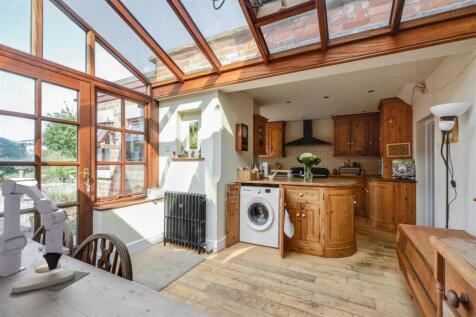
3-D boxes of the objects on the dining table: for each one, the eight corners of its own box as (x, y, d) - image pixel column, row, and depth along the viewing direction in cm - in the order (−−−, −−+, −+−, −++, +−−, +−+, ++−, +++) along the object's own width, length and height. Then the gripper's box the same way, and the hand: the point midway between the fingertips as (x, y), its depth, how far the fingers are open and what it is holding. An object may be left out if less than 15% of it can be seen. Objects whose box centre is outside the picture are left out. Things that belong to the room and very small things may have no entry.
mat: (33, 287, 83) (33, 287, 83) (68, 270, 97) (68, 269, 97) (57, 291, 81) (57, 290, 81) (89, 273, 95) (89, 272, 95)
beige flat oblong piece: (15, 285, 84) (8, 296, 77) (16, 279, 84) (8, 290, 77) (75, 272, 95) (73, 280, 88) (76, 267, 95) (73, 275, 88)
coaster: (30, 271, 96) (30, 270, 96) (51, 262, 105) (51, 261, 105) (45, 273, 94) (45, 272, 94) (65, 264, 103) (65, 263, 103)
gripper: (30, 239, 88) (29, 271, 88) (57, 242, 85) (56, 275, 85) (48, 234, 95) (47, 263, 95) (74, 237, 92) (73, 267, 92)
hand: (52, 268), depth 90 cm, fingers closed
